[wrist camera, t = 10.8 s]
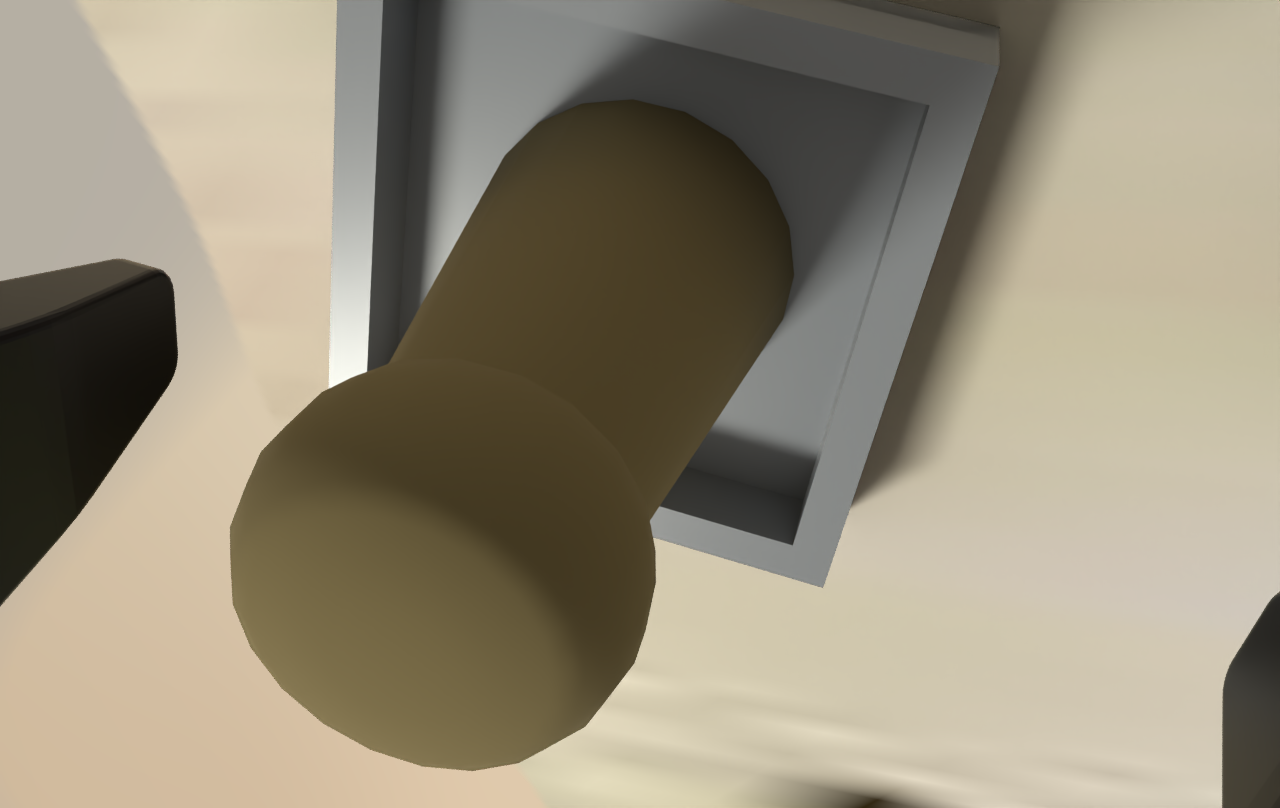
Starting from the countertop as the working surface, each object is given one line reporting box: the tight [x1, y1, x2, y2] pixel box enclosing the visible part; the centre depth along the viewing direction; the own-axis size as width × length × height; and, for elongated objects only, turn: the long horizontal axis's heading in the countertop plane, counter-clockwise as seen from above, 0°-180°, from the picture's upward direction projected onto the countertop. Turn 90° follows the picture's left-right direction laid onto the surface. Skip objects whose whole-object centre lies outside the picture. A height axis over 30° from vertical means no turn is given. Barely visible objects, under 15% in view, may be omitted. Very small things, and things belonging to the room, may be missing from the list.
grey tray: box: [329, 0, 999, 588], centre depth 22 cm, size 10×10×2 cm
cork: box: [230, 99, 794, 771], centre depth 18 cm, size 6×6×11 cm
